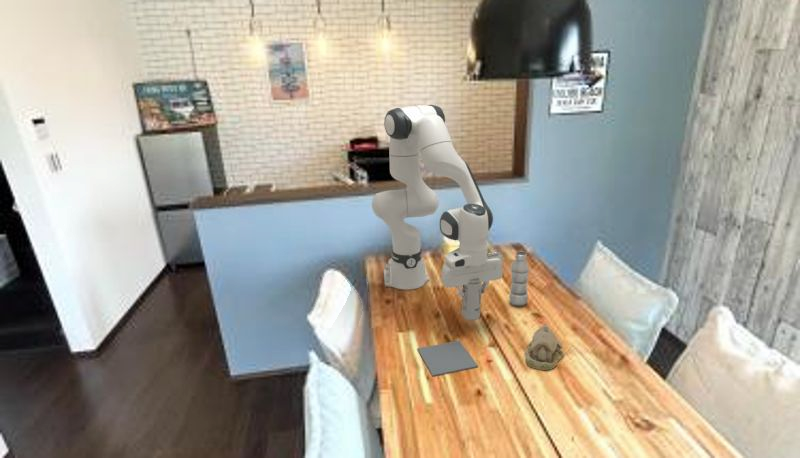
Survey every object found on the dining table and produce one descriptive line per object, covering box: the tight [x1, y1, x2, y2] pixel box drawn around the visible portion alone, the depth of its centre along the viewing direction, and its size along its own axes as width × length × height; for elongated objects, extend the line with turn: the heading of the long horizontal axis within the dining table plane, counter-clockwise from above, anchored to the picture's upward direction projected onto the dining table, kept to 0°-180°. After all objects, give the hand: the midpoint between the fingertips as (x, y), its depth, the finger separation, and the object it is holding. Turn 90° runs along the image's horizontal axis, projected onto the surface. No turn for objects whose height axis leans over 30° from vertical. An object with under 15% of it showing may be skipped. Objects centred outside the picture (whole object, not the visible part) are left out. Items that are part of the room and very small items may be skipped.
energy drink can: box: [461, 278, 483, 322], centre depth 151 cm, size 6×6×15 cm
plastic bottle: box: [508, 251, 530, 307], centre depth 166 cm, size 6×7×20 cm
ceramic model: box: [524, 324, 565, 371], centre depth 136 cm, size 14×11×10 cm
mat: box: [416, 340, 479, 377], centre depth 138 cm, size 14×14×1 cm
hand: (471, 294), depth 150 cm, fingers closed on energy drink can, 6 cm apart
